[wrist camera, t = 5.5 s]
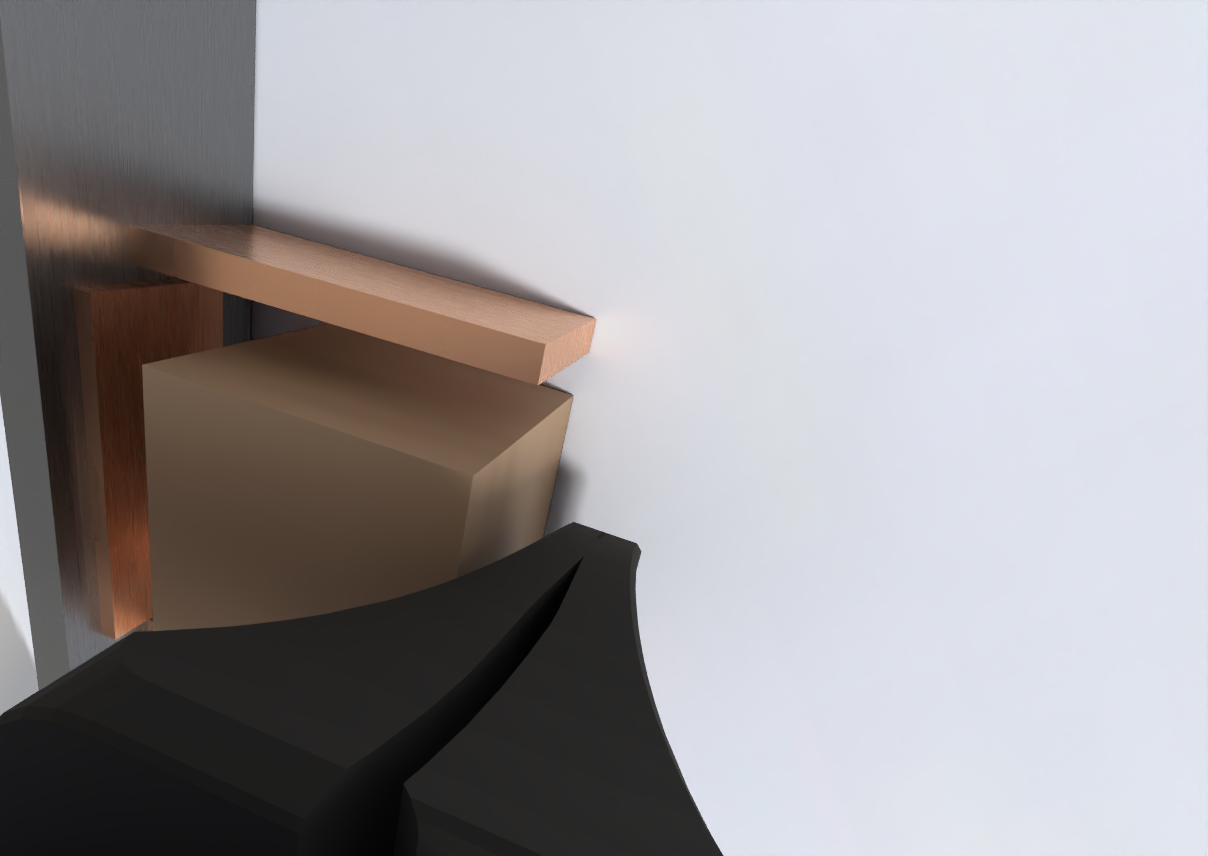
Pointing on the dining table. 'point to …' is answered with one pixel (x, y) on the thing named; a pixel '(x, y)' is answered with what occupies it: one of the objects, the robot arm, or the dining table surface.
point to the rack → (162, 282)
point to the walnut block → (335, 474)
